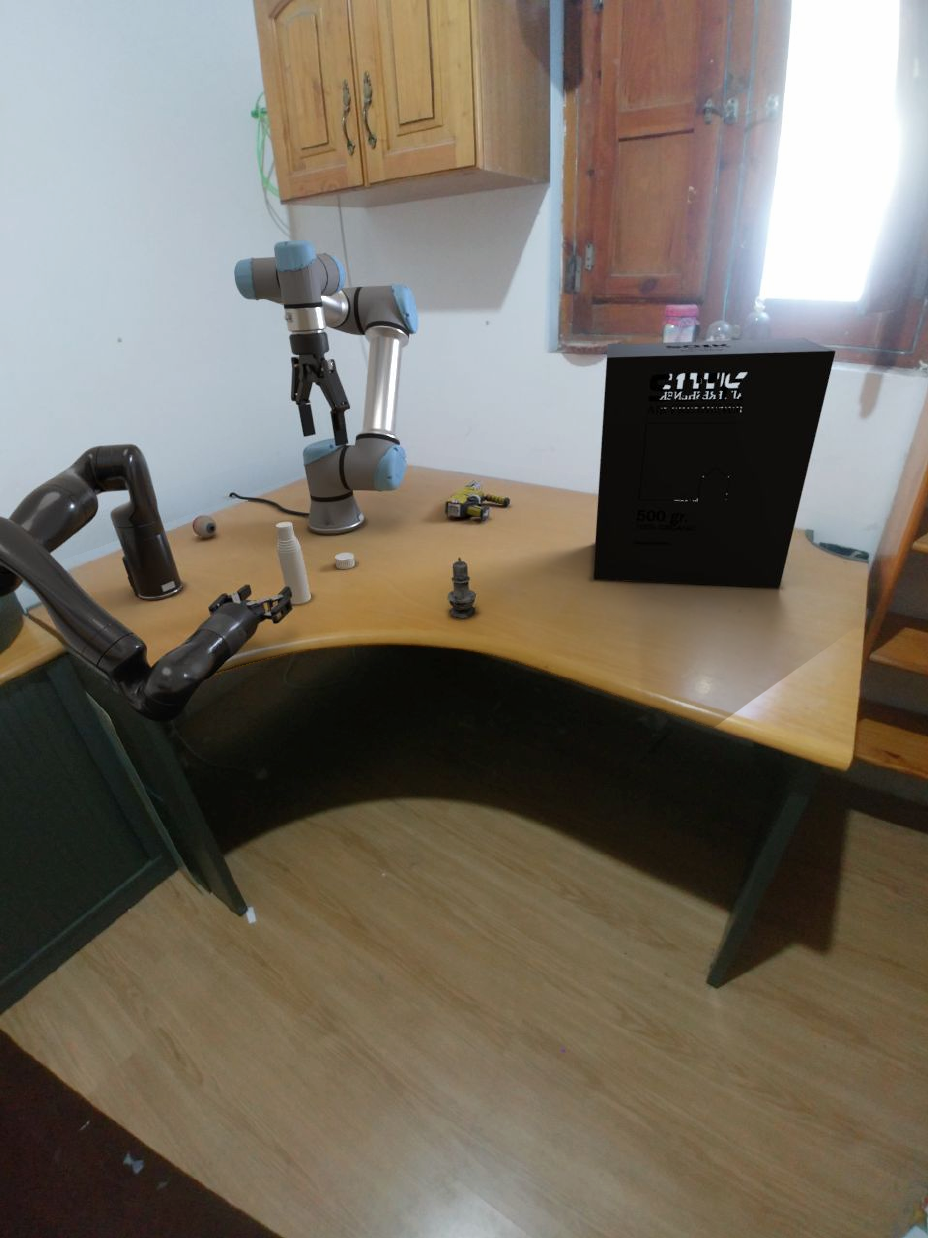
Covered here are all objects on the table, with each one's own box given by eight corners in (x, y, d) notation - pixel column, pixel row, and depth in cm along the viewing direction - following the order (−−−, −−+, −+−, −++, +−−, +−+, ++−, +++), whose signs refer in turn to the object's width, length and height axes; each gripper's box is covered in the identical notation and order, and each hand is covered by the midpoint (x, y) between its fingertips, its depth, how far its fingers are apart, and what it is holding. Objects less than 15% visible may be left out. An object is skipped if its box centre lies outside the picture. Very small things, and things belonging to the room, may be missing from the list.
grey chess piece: (474, 619, 120) (471, 564, 114) (445, 617, 121) (441, 563, 115) (479, 605, 124) (477, 551, 118) (451, 603, 126) (448, 550, 120)
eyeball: (206, 542, 163) (200, 521, 160) (191, 538, 166) (185, 518, 163) (224, 534, 167) (218, 514, 164) (209, 531, 170) (203, 510, 167)
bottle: (310, 592, 134) (295, 518, 125) (311, 602, 130) (296, 526, 121) (288, 596, 133) (271, 522, 124) (289, 606, 129) (271, 530, 120)
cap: (338, 561, 148) (337, 552, 147) (356, 560, 148) (355, 552, 146) (334, 569, 144) (332, 560, 143) (353, 568, 144) (351, 559, 142)
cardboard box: (759, 548, 141) (803, 338, 119) (779, 587, 124) (835, 350, 102) (595, 543, 149) (607, 344, 126) (593, 579, 132) (607, 357, 109)
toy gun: (518, 485, 181) (471, 478, 185) (495, 509, 161) (443, 500, 165) (516, 500, 184) (470, 493, 188) (494, 525, 164) (442, 517, 168)
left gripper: (194, 648, 108) (241, 604, 122) (267, 653, 105) (306, 608, 119) (182, 611, 104) (231, 570, 118) (257, 616, 101) (298, 573, 115)
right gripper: (262, 332, 126) (282, 435, 137) (323, 335, 110) (341, 452, 120) (294, 328, 130) (311, 428, 141) (357, 331, 114) (372, 444, 125)
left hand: (269, 589), depth 118 cm, fingers open, 8 cm apart
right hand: (325, 439), depth 131 cm, fingers open, 13 cm apart
